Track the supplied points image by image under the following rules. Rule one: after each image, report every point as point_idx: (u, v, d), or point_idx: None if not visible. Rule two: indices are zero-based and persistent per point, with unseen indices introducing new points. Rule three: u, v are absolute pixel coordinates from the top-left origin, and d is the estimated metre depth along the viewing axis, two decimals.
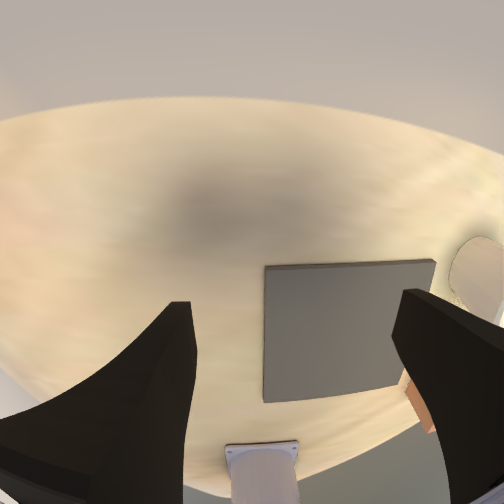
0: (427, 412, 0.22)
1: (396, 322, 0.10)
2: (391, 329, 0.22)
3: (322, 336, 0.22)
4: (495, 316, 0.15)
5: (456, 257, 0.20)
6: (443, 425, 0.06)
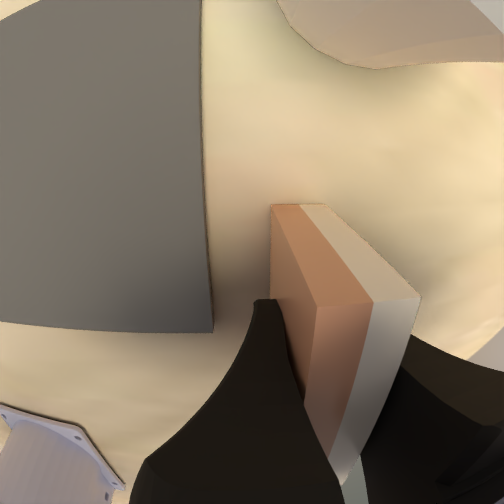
0: None
1: None
2: (108, 130, 0.08)
3: None
4: None
5: None
6: (365, 448, 0.06)
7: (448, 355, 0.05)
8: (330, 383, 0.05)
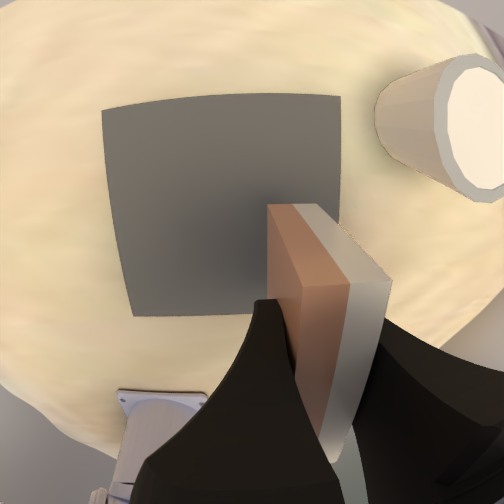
0: None
1: None
2: (290, 198, 0.17)
3: (182, 202, 0.16)
4: (434, 121, 0.09)
5: (378, 99, 0.15)
6: (365, 449, 0.06)
7: (448, 355, 0.05)
8: (317, 355, 0.06)
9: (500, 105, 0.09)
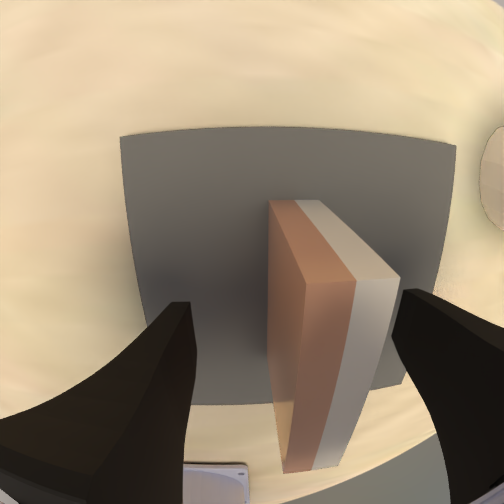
0: (281, 410, 0.08)
1: (396, 322, 0.10)
2: None
3: (247, 281, 0.12)
4: None
5: (487, 150, 0.10)
6: (443, 425, 0.06)
7: None
8: (320, 356, 0.06)
9: None
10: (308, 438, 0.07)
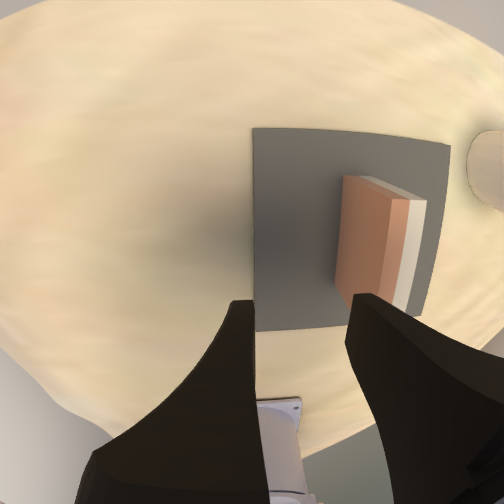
0: None
1: (348, 328, 0.10)
2: None
3: (327, 226, 0.18)
4: None
5: (471, 148, 0.17)
6: (389, 442, 0.06)
7: (471, 348, 0.05)
8: (395, 238, 0.12)
9: None
10: None
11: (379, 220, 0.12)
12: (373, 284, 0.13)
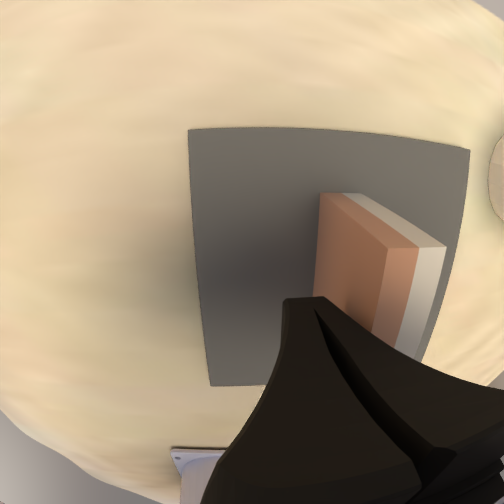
0: None
1: None
2: None
3: (297, 264, 0.13)
4: None
5: (495, 154, 0.12)
6: None
7: (416, 363, 0.05)
8: (390, 310, 0.07)
9: None
10: None
11: (366, 277, 0.08)
12: None
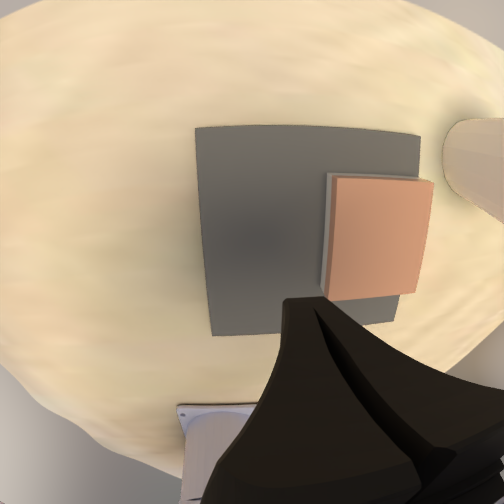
0: (400, 270, 0.17)
1: None
2: None
3: (278, 228, 0.17)
4: None
5: (447, 139, 0.16)
6: None
7: (416, 363, 0.05)
8: None
9: None
10: None
11: (419, 202, 0.15)
12: (416, 251, 0.16)
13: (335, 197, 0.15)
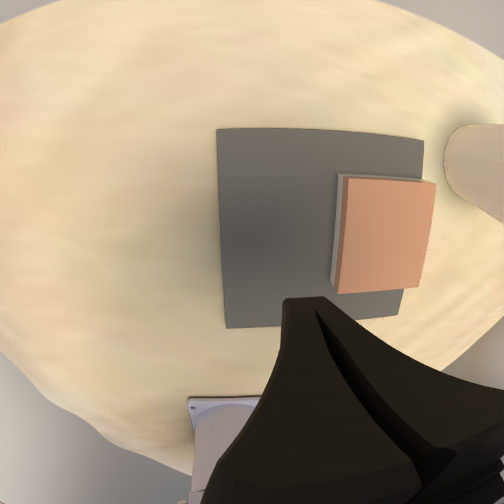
0: (405, 265, 0.18)
1: None
2: None
3: (292, 224, 0.18)
4: None
5: (448, 143, 0.17)
6: None
7: (416, 363, 0.05)
8: None
9: None
10: None
11: (423, 202, 0.16)
12: (420, 247, 0.17)
13: (346, 196, 0.16)
